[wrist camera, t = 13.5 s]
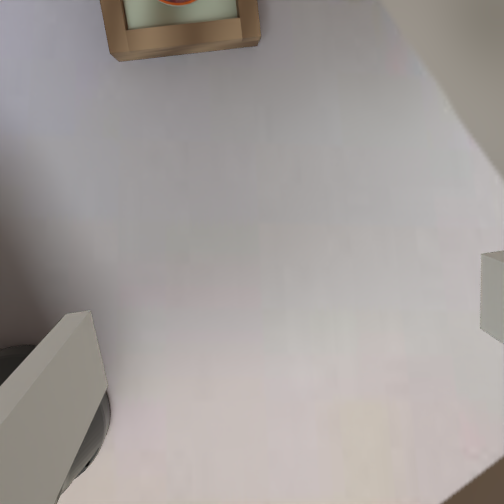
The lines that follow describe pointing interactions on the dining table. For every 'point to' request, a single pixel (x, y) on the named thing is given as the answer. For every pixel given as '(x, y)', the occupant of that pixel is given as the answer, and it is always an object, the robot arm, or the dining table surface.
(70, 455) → the robot arm
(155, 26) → the holder
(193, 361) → the dining table surface
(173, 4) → the pill bottle
